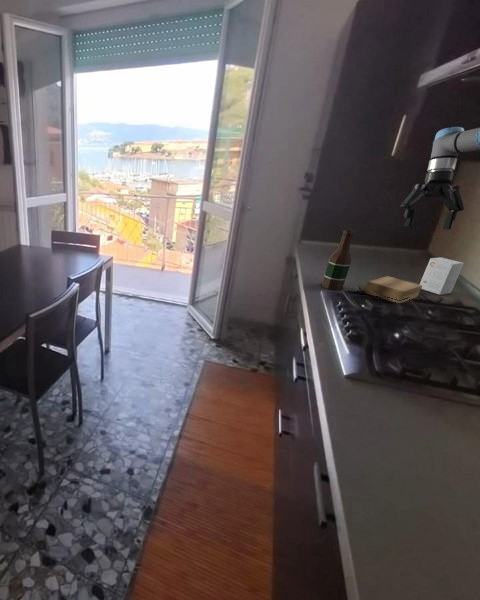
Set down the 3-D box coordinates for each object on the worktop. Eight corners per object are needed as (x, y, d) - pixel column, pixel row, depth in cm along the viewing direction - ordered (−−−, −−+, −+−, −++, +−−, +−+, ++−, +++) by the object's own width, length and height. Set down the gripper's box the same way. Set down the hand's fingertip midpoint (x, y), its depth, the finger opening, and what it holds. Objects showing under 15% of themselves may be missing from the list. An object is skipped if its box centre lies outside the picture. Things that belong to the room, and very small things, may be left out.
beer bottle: (346, 291, 146) (365, 233, 137) (325, 289, 148) (343, 232, 138) (337, 284, 153) (354, 229, 144) (317, 283, 155) (333, 228, 145)
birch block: (417, 297, 141) (422, 285, 139) (398, 303, 135) (403, 291, 133) (382, 287, 150) (386, 275, 148) (364, 292, 145) (368, 281, 143)
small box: (451, 293, 144) (465, 262, 138) (439, 295, 142) (453, 264, 137) (428, 286, 151) (441, 257, 146) (417, 287, 149) (429, 258, 144)
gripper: (469, 175, 138) (455, 230, 141) (396, 172, 142) (385, 225, 145) (487, 171, 131) (472, 229, 134) (410, 167, 135) (397, 224, 138)
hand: (426, 227), depth 140 cm, fingers open, 13 cm apart
